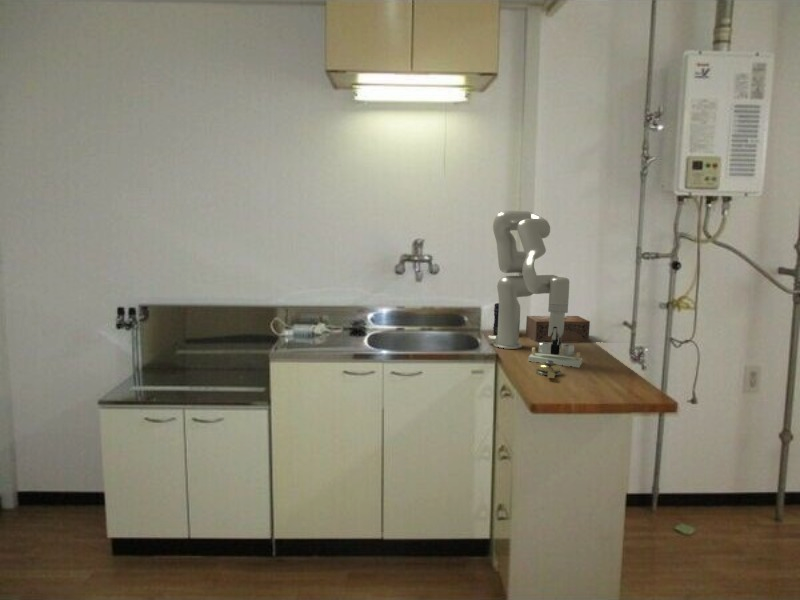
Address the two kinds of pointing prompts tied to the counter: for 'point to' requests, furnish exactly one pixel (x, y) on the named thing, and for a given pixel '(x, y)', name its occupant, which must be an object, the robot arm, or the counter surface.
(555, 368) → the gold handled disc
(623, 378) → the counter surface
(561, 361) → the peg rest
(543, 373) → the round gray base
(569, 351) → the steel bar
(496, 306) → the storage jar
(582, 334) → the tissue box cover
